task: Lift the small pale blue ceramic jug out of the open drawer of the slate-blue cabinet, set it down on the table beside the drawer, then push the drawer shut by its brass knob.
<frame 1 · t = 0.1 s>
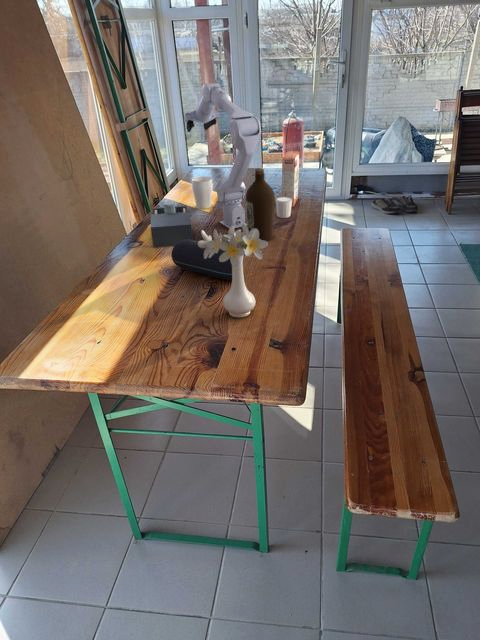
hand: (196, 129, 204), 32 cm above the table, tool tilted 50°, fingers open, 7 cm apart
cup: (204, 207, 222), on the table
cabinet: (172, 238, 189), on the table
flower vase: (237, 313, 141), on the table
shot glass: (283, 216, 210), on the table
olive oil: (260, 237, 190), on the table
drawer: (170, 218, 197), point 4 cm above the table, slide at 10.0 cm, touching jug
cracker box: (290, 203, 224), on the table
portable speaker: (209, 274, 163), on the table
jug: (171, 223, 198), point 2 cm above the table, touching drawer
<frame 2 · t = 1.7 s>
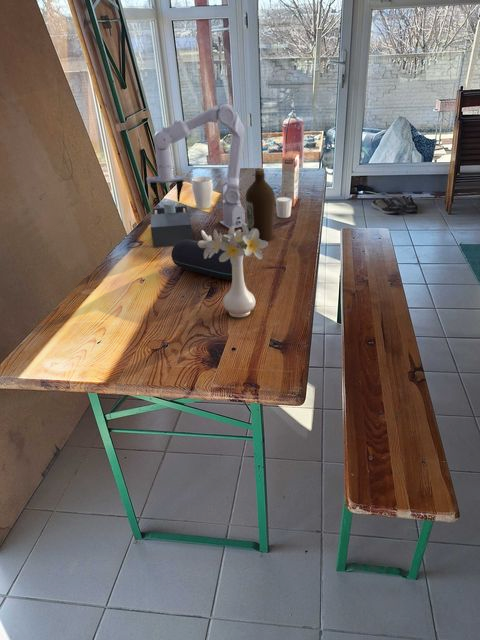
hand: (168, 201, 194), 11 cm above the table, tool pointing down, fingers open, 7 cm apart
nothing on the table moved.
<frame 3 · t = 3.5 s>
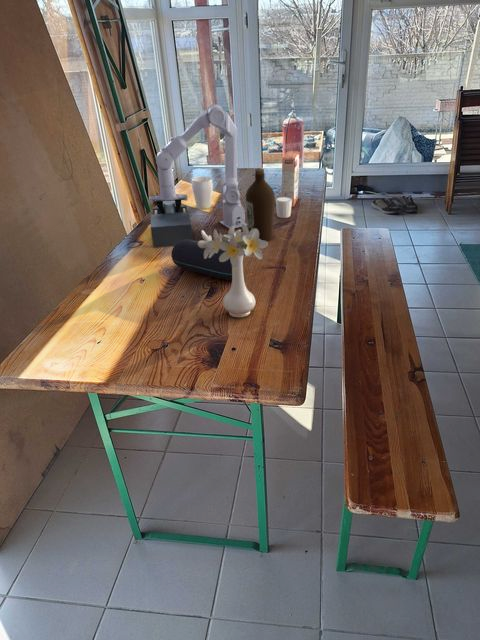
hand: (171, 219, 197), 4 cm above the table, tool pointing down, fingers closed on jug, 4 cm apart
jug: (171, 223, 198), point 2 cm above the table, touching drawer, gripper
everything else where it was.
when the fingers open (1 cm above the table, at t = 9.7 s): jug stays where it is, on the table.
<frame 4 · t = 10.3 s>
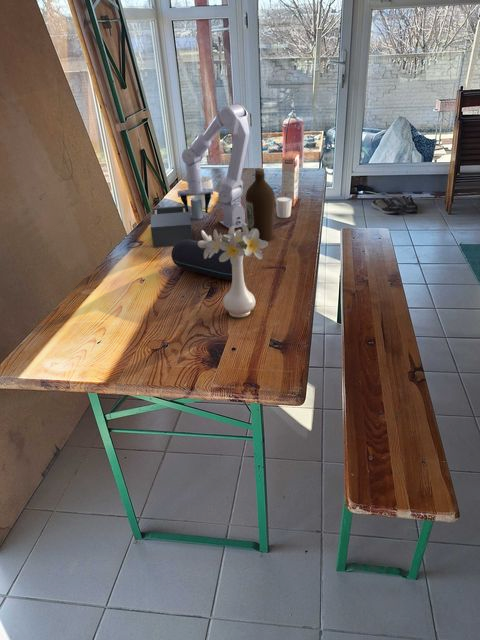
hand: (197, 212, 208), 2 cm above the table, tool pointing down, fingers open, 7 cm apart
drawer: (170, 218, 197), point 4 cm above the table, slide at 10.0 cm
jug: (197, 217, 209), on the table
everything else where it was.
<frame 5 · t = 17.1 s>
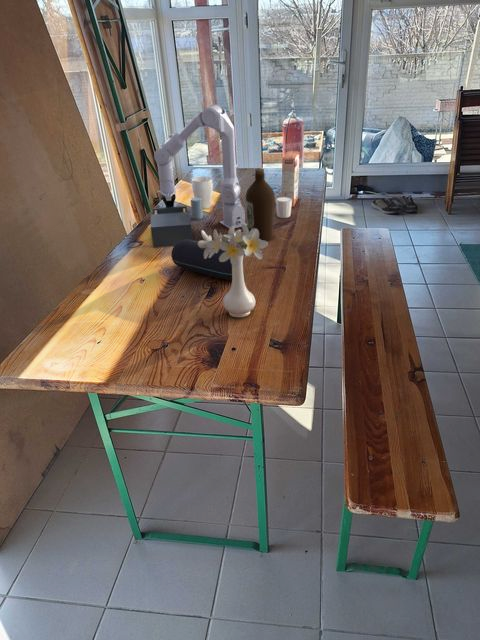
hand: (170, 213, 204), 3 cm above the table, tool pointing down, fingers closed
drawer: (170, 218, 197), point 4 cm above the table, slide at 9.5 cm, touching gripper
everything else where it was.
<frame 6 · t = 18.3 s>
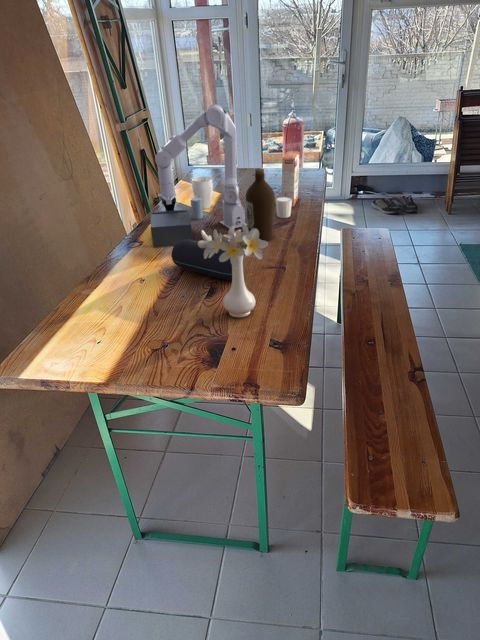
hand: (170, 216, 200), 3 cm above the table, tool pointing down, fingers closed
drawer: (171, 222, 193), point 4 cm above the table, slide at 4.7 cm, touching gripper
everything else where it was.
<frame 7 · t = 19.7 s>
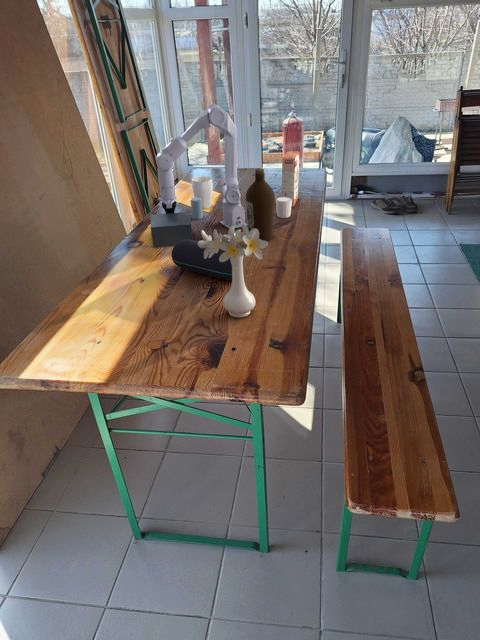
hand: (171, 220, 196), 3 cm above the table, tool pointing down, fingers closed
drawer: (171, 227, 189), point 4 cm above the table, slide at 0.0 cm, touching gripper
everything else where it was.
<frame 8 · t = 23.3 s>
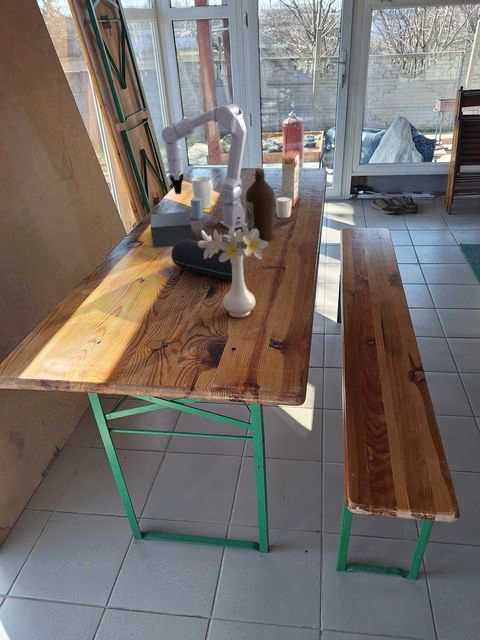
hand: (178, 193, 203), 10 cm above the table, tool pointing down, fingers closed
drawer: (171, 227, 189), point 4 cm above the table, slide at 0.0 cm
everything else where it was.
at the end: jug 0.1 cm from the target spot, on the table; jug tilted 0°; drawer slide at 0.0 cm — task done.
